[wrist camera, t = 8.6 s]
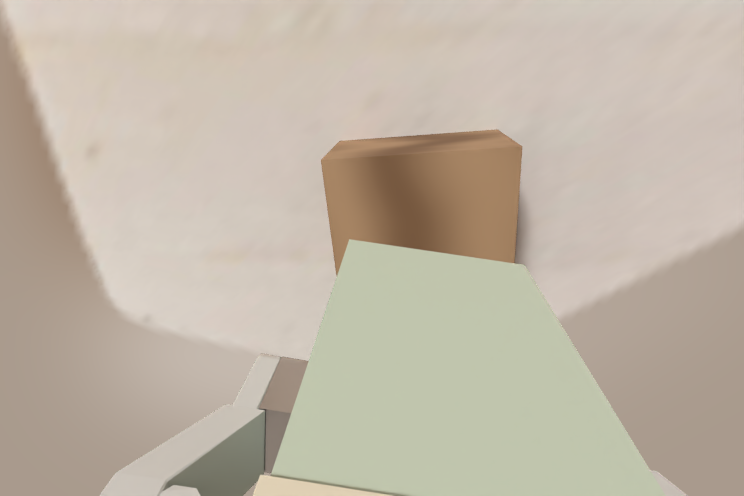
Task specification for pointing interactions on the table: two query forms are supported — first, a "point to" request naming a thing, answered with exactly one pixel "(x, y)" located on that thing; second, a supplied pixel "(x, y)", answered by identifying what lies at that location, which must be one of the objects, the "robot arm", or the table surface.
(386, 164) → the walnut block
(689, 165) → the table surface
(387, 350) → the tea tin
